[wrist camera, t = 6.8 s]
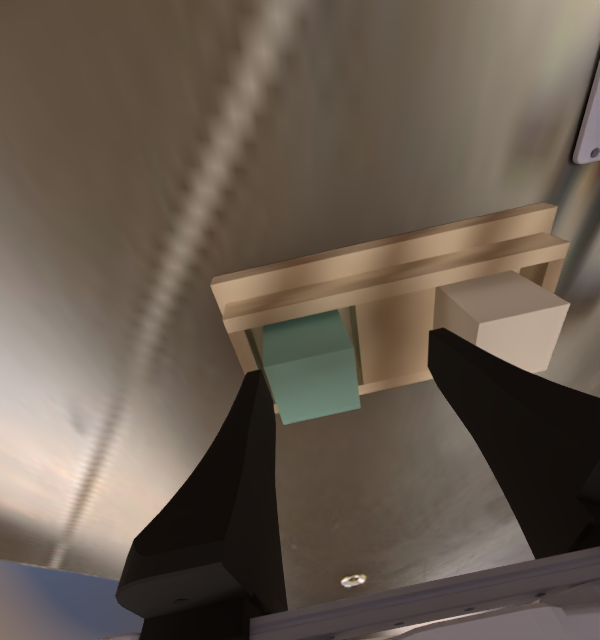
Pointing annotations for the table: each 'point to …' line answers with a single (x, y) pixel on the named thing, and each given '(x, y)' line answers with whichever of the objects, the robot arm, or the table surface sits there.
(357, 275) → the assembly board
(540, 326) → the cream block
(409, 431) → the table surface
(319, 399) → the teal block
